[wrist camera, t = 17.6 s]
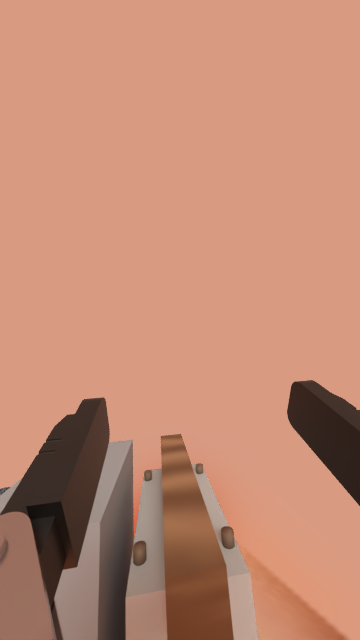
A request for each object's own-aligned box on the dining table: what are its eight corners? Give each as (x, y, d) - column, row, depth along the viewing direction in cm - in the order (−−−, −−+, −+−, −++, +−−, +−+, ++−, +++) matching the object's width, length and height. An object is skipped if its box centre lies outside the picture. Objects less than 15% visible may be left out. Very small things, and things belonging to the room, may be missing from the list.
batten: (161, 459, 38) (160, 436, 39) (182, 456, 39) (180, 434, 40) (168, 665, 11) (164, 576, 12) (234, 649, 12) (226, 565, 13)
